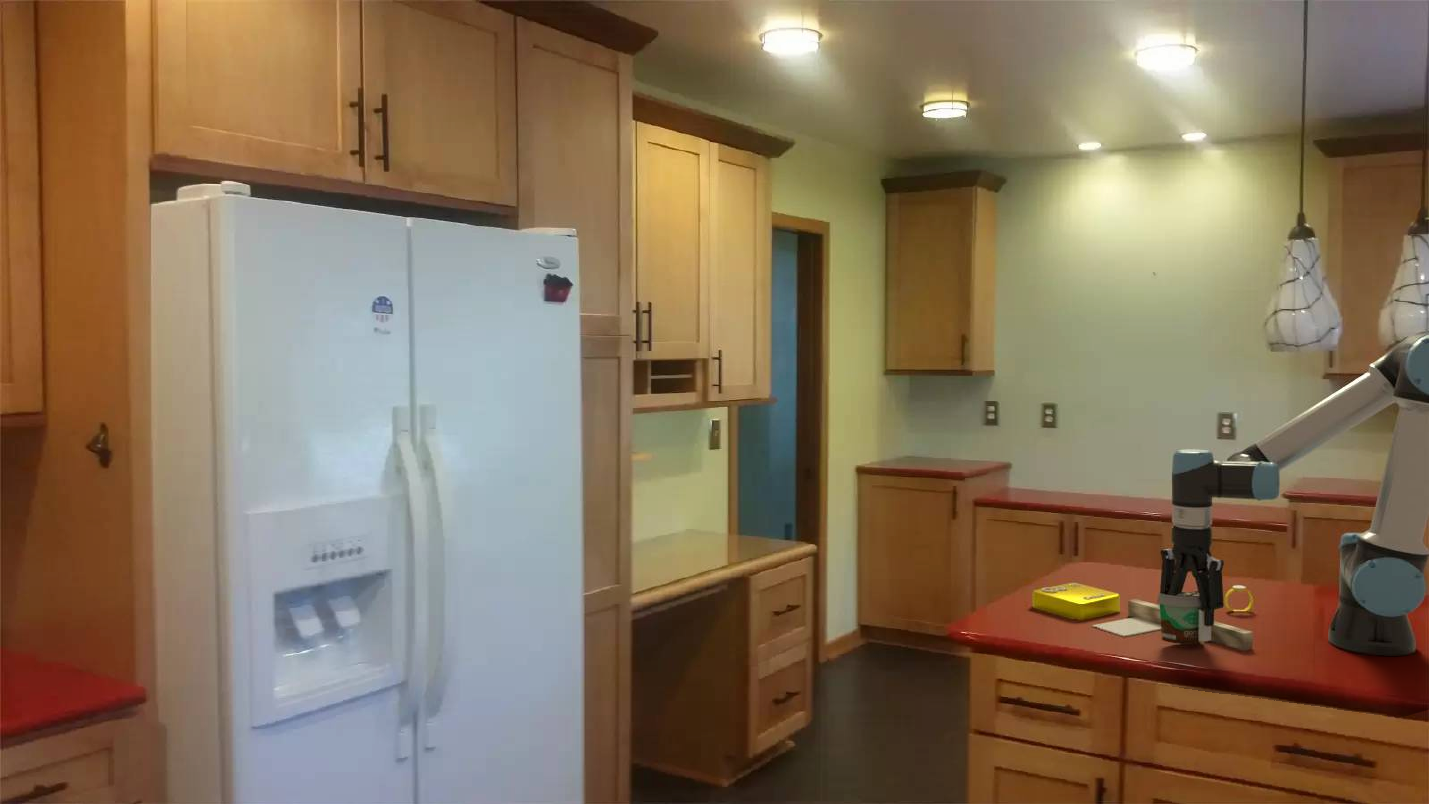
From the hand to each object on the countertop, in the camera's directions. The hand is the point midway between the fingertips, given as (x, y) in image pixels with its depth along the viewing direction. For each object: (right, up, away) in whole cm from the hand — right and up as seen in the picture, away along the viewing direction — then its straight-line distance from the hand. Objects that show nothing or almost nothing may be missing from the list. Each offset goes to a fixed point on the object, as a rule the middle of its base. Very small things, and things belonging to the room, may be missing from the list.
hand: (1190, 636), depth 219 cm
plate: (-7, -1, +14) cm, 16 cm away
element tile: (-13, -1, +30) cm, 33 cm away
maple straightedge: (+4, -1, +11) cm, 12 cm away
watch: (+22, 0, +25) cm, 34 cm away
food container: (0, -1, 0) cm, 1 cm away
